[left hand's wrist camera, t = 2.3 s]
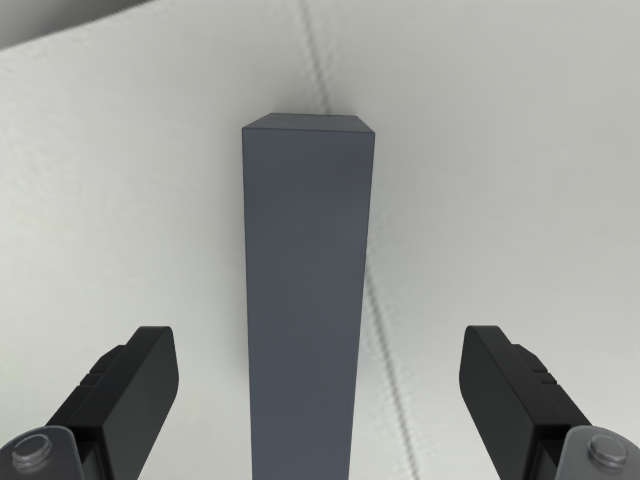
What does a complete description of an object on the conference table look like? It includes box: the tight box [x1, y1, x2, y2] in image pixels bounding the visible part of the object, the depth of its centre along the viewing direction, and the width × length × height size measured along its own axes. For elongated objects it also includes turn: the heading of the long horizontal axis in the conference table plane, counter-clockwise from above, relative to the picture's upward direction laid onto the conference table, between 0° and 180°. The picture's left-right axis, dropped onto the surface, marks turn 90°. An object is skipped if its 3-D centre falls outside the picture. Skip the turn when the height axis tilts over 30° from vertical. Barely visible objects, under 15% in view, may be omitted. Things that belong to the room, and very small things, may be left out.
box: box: [242, 113, 375, 480], centre depth 27 cm, size 23×6×11 cm, turn 178°
